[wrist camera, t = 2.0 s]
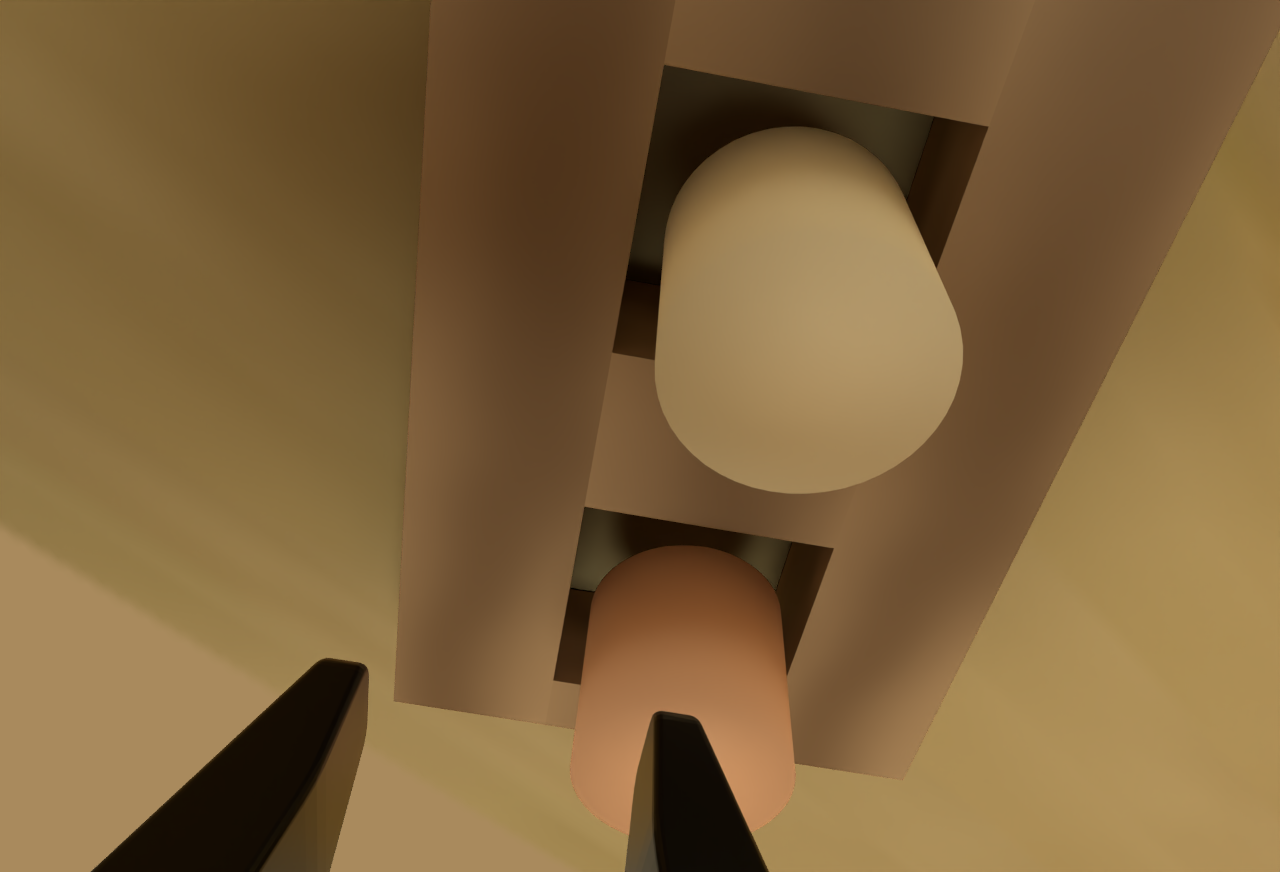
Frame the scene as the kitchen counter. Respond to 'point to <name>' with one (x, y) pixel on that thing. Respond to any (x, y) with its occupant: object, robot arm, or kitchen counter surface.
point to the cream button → (801, 316)
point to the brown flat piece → (628, 313)
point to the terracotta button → (684, 678)
